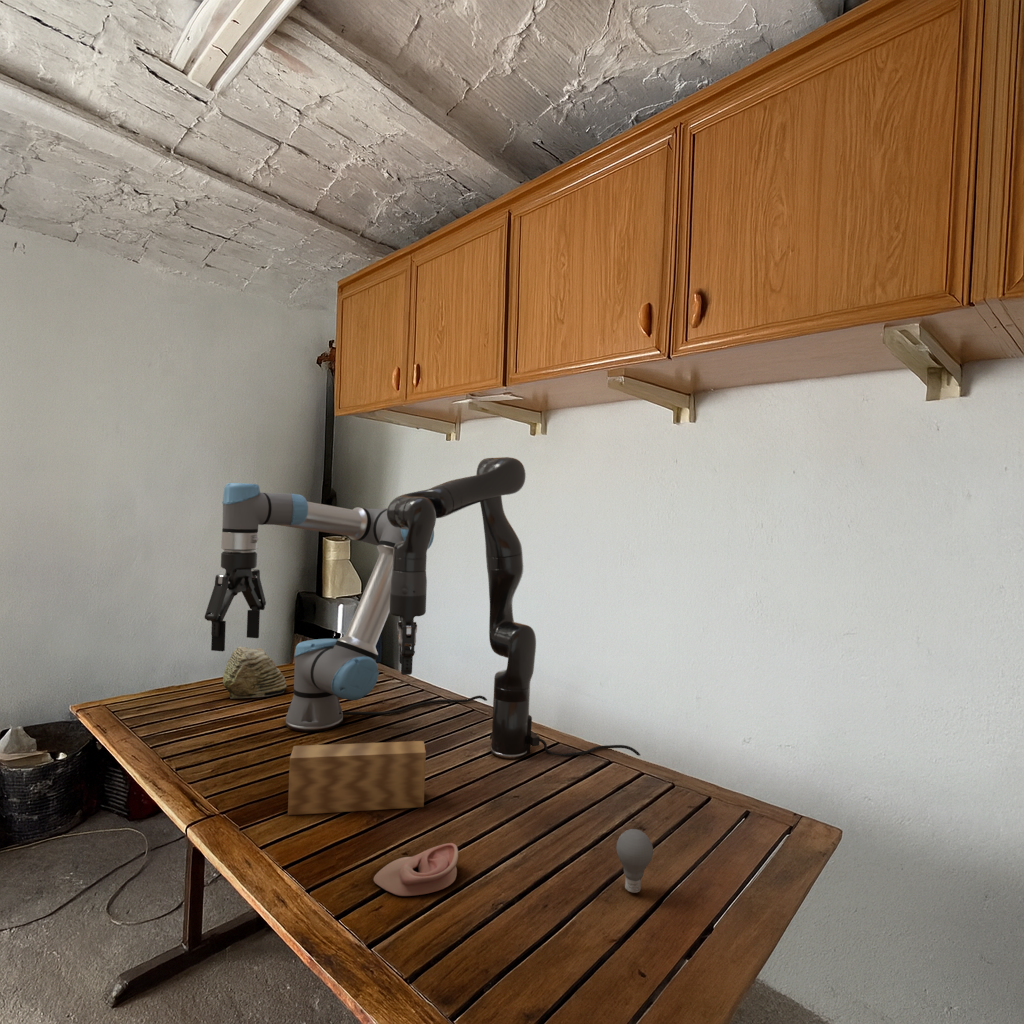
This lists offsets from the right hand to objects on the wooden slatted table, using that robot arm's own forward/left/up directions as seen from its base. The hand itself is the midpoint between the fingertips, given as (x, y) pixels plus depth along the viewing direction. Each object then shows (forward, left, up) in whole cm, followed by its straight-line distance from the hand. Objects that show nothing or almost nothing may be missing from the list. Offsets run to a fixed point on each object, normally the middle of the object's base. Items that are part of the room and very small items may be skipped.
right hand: (405, 668), depth 133 cm
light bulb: (-26, +45, -28) cm, 59 cm away
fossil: (+21, -84, -28) cm, 91 cm away
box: (+8, -2, -28) cm, 29 cm away
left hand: (+31, -29, +1) cm, 42 cm away
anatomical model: (+6, +27, -28) cm, 39 cm away
